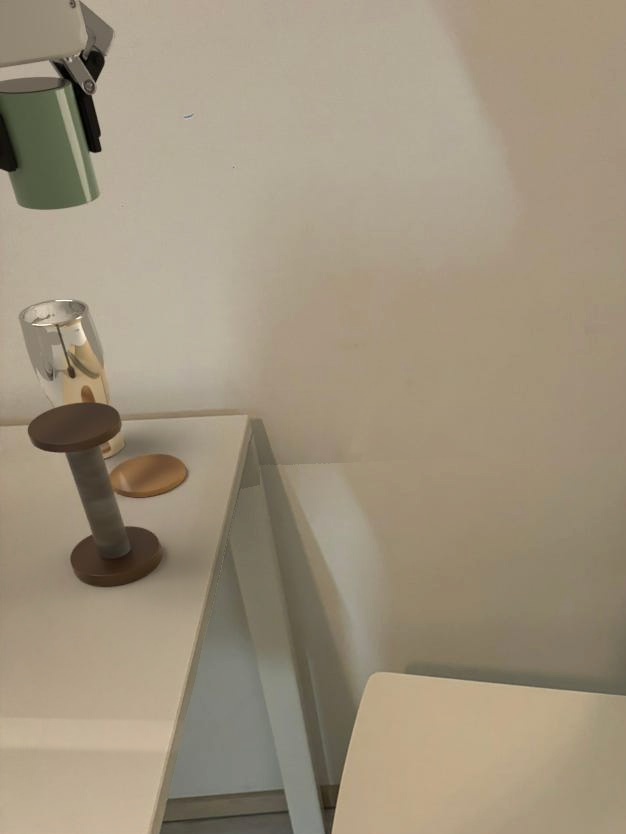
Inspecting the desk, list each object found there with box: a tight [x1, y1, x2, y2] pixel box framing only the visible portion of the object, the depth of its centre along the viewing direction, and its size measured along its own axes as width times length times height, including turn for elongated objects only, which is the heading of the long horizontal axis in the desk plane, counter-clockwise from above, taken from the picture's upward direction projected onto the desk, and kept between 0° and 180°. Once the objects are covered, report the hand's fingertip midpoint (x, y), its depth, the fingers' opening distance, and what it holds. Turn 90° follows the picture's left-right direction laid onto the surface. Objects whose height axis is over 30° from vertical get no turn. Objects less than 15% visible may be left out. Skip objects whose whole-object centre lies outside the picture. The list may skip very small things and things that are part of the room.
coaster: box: [109, 453, 187, 498], centre depth 97 cm, size 8×8×1 cm
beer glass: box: [18, 298, 125, 460], centre depth 97 cm, size 7×7×15 cm
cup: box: [0, 76, 101, 211], centre depth 73 cm, size 6×6×8 cm
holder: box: [27, 402, 163, 587], centre depth 81 cm, size 8×8×14 cm
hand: (47, 156), depth 74 cm, fingers closed on cup, 6 cm apart
